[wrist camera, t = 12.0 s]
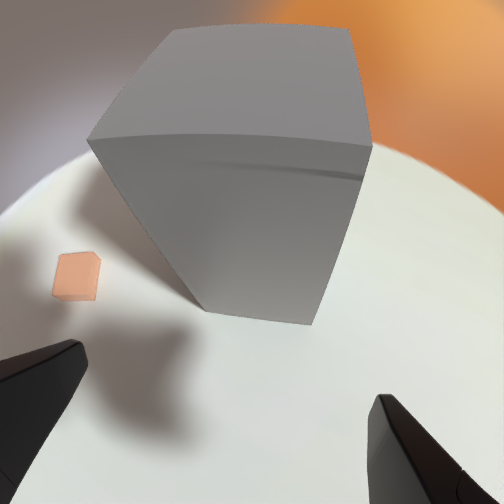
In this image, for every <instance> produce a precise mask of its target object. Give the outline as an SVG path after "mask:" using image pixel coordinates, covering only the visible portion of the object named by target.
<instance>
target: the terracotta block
mask: <svg viewBox="0 0 504 504" xmlns="http://www.w3.org/2000/svg"><path fill="white" fill-rule="evenodd" d="M100 264H101V259H100V258H99V257H98V256H97V255H96V254H95V253H94V252H85V253H75V254H65V255H60V258H59V262H58V267H57V272H56V277H55V282H54V288H53V294H52V295H53V296H55V297H56V298H58V299H60V300H61V301H95V298H96V290H97V283H98V277H99V270H100Z"/></svg>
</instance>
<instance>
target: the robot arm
mask: <svg viewBox="0 0 504 504" xmlns="http://www.w3.org/2000/svg"><path fill="white" fill-rule="evenodd" d="M87 367H88V360H87V356H86V353H85V349H84V345H83V344H82V342H80V341H77V340H74V339H69V340H66V341H63V342H60V343H57V344H54V345H50V346H47V347H44V348H41V349H38V350H34V351H31V352H28V353H25V354H21V355H18V356H15V357H11V358H8V359H5V360H1V361H0V504H10V502H11V500H12V498H13V496H14V494H15V492H16V491H17V488H18V487H19V485H20V483H21V481H22V479H23V478H24V476H25V474H26V472H27V471H28V469H29V467H30V466H31V464H32V462H33V460H34V459H35V457H36V455H37V454H38V452H39V450H40V449H41V447H42V445H43V444H44V442H45V440H46V439H47V437H48V436H49V434H50V432H51V431H52V429H53V428H54V426H55V424H56V423H57V421H58V420H59V418H60V417H61V415H62V413H63V412H64V410H65V409H66V407H67V406H68V404H69V402H70V400H71V399H72V397H73V395H74V393H75V391H76V389H77V387H78V385H79V383H80V381H81V379H82V377H83V376H84V374H85V372H86V370H87ZM367 474H368V487H369V502H370V504H500V503H498V502H497V501H496V500H495V499H494V498H492V497H491V496H490V495H489V494H488V493H487V492H486V491H484V490H483V489H482V488H481V487H480V486H479V485H478V484H477V483H476V482H475V481H474V480H473V479H472V478H471V477H470V476H469V475H468V474H467V473H466V472H465V471H464V470H462V468H461V466H460V465H459V464H458V463H457V462H456V461H455V460H454V459H453V458H452V457H451V456H450V455H449V454H448V453H447V452H446V451H445V450H444V448H443V447H442V446H441V445H440V444H439V443H438V442H437V441H436V440H435V439H434V438H433V437H432V436H431V435H430V434H429V433H428V432H427V431H426V430H425V428H424V427H423V426H422V425H421V424H420V423H419V422H418V421H417V420H416V419H415V418H414V417H413V416H412V415H411V414H410V413H409V412H408V411H407V410H406V408H405V407H404V406H403V405H402V404H401V403H400V402H399V401H398V400H397V399H396V398H395V397H394V396H393V395H391V394H379V395H377V397H376V399H375V401H374V403H373V406H372V408H371V411H370V413H369V416H368V446H367Z"/></svg>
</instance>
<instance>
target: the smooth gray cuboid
mask: <svg viewBox="0 0 504 504" xmlns="http://www.w3.org/2000/svg"><path fill="white" fill-rule="evenodd" d="M87 142H88V144H89V145H90V147H91V149H92V150H93V152H94V153H95V155H96V157H97V158H98V160H99V161H100V163H101V165H102V166H103V168H104V169H105V171H106V173H107V174H108V176H109V177H110V179H111V180H112V182H113V183H114V185H115V186H116V188H117V189H118V191H119V193H120V194H121V196H122V197H123V199H124V200H125V202H126V203H127V205H128V206H129V207H130V209H131V210H132V212H133V213H134V215H135V216H136V218H137V219H138V221H139V222H140V224H141V225H142V226H143V228H144V229H145V231H146V232H147V234H148V235H149V236H150V238H151V239H152V241H153V242H154V243H155V245H156V246H157V248H158V249H159V250H160V252H161V253H162V255H163V256H164V257H165V259H166V260H167V261H168V263H169V264H170V265H171V267H172V268H173V270H174V271H175V272H176V274H177V275H178V276H179V278H180V279H181V280H182V282H183V283H184V284H185V286H186V287H187V288H188V289H189V291H190V292H191V293H192V295H193V296H194V297H195V299H196V300H197V301H198V302H199V304H200V305H201V306H202V308H203V309H204V310H205V311H206V312H212V313H219V314H226V315H232V316H239V317H247V318H254V319H262V320H269V321H278V322H286V323H295V324H304V325H312V322H313V320H314V318H315V315H316V313H317V310H318V308H319V305H320V302H321V300H322V297H323V295H324V292H325V290H326V287H327V284H328V282H329V279H330V276H331V274H332V271H333V268H334V266H335V263H336V260H337V257H338V254H339V252H340V249H341V246H342V243H343V240H344V237H345V234H346V231H347V228H348V226H349V223H350V220H351V216H352V213H353V210H354V207H355V204H356V201H357V198H358V195H359V191H360V188H361V185H362V182H363V178H364V175H365V172H366V168H367V165H368V161H369V158H370V154H371V151H372V147H373V146H372V139H371V132H370V126H369V121H368V114H367V108H366V103H365V97H364V93H363V87H362V82H361V78H360V73H359V68H358V64H357V60H356V56H355V52H354V48H353V44H352V40H351V36H350V32H349V29H342V28H333V27H324V26H313V25H298V24H231V25H216V26H204V27H195V28H186V29H179V30H173V31H172V32H171V33H170V34H169V35H168V37H166V38H165V40H164V41H163V42H162V43H161V44H160V45H159V46H158V47H157V48H156V49H155V50H154V52H153V53H152V54H151V55H150V56H149V57H148V58H147V59H146V61H145V62H144V63H143V64H142V65H141V67H140V68H139V69H138V70H137V71H136V72H135V74H134V75H133V76H132V77H131V79H130V80H129V81H128V83H127V84H126V85H125V86H124V87H123V89H122V90H121V91H120V93H119V94H118V95H117V97H116V98H115V99H114V101H113V102H112V103H111V105H110V106H109V108H108V109H107V110H106V112H105V113H104V115H103V116H102V118H101V119H100V120H99V122H98V123H97V125H96V126H95V128H94V129H93V131H92V132H91V134H90V135H89V137H88V138H87Z"/></svg>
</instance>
